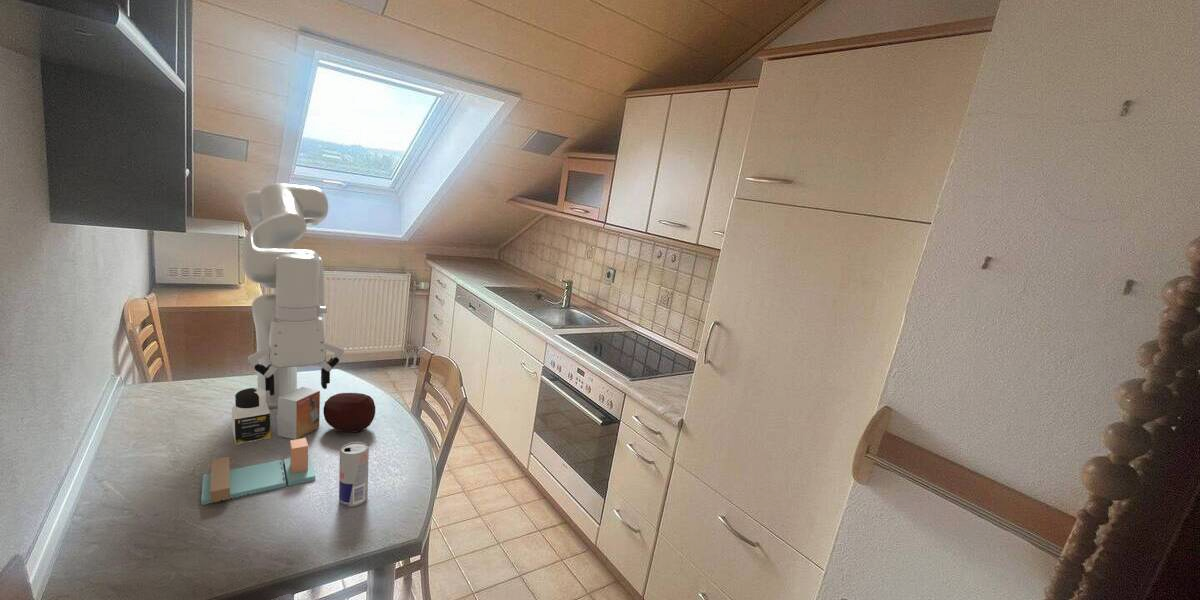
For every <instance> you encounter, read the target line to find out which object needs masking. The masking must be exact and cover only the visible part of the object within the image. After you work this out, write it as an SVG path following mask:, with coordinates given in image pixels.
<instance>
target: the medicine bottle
mask: <svg viewBox="0 0 1200 600" xmlns="http://www.w3.org/2000/svg"><path fill="white" fill-rule="evenodd" d="M234 400H235V406H232V407H231V421H232V423H231V424H232V425H231V426H232V436H233V439H234V444H235V445H241V443H242V444H246V442H247V443H252V442H251V441H253V442H257V440H258V441H262V439H263V440H267V438H268V439H271V437H272V434H271V430H272V429H271V427H272V425H271V424H272V423H271V411H270V408H268V406H267V403H266V392H265V391H264V390H263V389H259V388H258V387H249V388H244V389H242V390H240V391H237V392H236V394H235V395H234Z"/></svg>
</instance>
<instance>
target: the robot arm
mask: <svg viewBox="0 0 1200 600" xmlns="http://www.w3.org/2000/svg"><path fill="white" fill-rule="evenodd" d="M243 208H244V209H243V211H244V212H245V216H246V220H247V221H248V223H249V225H250V228H251V229H250V230H249V231H248V232H247V233H246V235H245V236H244V239H243V242H242V259H243V260H242V261H243V269H244V273H245V276H246V278H248V280H249V281H251V282H253V283H255V284H260V286H261V287H263V288H266V289H273V290H274V289H275V293H266V294H261V295H259V296H257V297H256V298H255V299H254V300H253V302H252V303H251V312H252V313H251V314H252V318H253V322H254V326H255V327H254V329H255V336H256V352H254V353H252V354H250V355H248V356H247V360H248V362H249V363H250V365H251V366H252V367H253V369H254V371H256V372H257V374H256V375H257V388H259V389H263V390H264V391H265V392H266V403H267V406H268V408H269V409H271V408H278V397H280V396H283V395H286V394H288V393H290V392H293V391H295V390H297V389H298V381H297V380H298V367H305V366H314V365H315V366H316V365H319V366H321V368H320V374H321V375H320V384H321V388H322V389H324V390H327V389H328V384H330V383H331V373H330V372H331V371H332V369H333V368H334V367H335V366H337V365H338V364H339V362H340V359H341V358H342V356H343V355H344V352H345V350H344V349H343V348H342V347H339V346H337V345H334V344H332V343H331V344H330V343H329V342H326V334H325V333H326V332H325V327H324V322H323V321H324V319H325V316H326V315H325V314H326V313H327V307H326V301H325V299H326V297H325V294H326V293H325V291H326V290H325V271H324V264H323V259H322V258H321V257H320V255H319V254H318V253H317V251H314V250H311V249H301V248H300V249H299V248H294V242H296V241H299V240H300V239H302V238H303V237H304V235H305V234H306V231H307V226H309V227H311V226H313V227H314V226H317V225H319V224H320V223H322V222H323V221H324V220H326V217H327V216H328V213H329V201H328V197H327V195H326V194H325V192H324V191H323V190H322V189H321V188H320V187H316V186H312V185H304V184H303V185H302V184H301V185H300V184H294V183H293V184H292V183H285V182H284V183H282V182H281V183H279V182H278V183H277V182H276V183H270V184H267V185H265V186H264V187H262V189H261V190H252V191H250V192H246V194H245V195H244V197H243ZM327 351H329V352H332V353H334V354H333V356H332V357H331V358H330V359H329V360H326V358H327Z"/></svg>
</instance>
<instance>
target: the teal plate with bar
mask: <svg viewBox="0 0 1200 600" xmlns="http://www.w3.org/2000/svg"><path fill="white" fill-rule="evenodd" d="M210 467H211V468H210V473H206V474H203V475H202V483H201V496H200V497H201V499H200V500H201V502H200V503H201V506H205V505H209V503H210V504H212V503H213V502H214V503H218V502H221V500H223V501H227V500H231V499H230V498H232V499H235V498H234V497H236V498H240V497H239V496H241V497H244V496H243V495H245V496H248V495H247V494H250V495H253V493H254V494H258V493H257V492H259V493H263V492H267V491H266V490H268V491H271V490H276V488H277V489H280V488H284V487H285V486H286V487H287V478H286V473H285V468H284V463H283V460H282V459H280V460H273V461H269V462H263V463H258V464H253V465H247V466H243V467H237V468H231V469H230V467H231V465H230V456H225V457H220V458H215V459H211V466H210ZM262 491H263V492H262ZM226 499H227V500H226Z"/></svg>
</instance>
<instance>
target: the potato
mask: <svg viewBox="0 0 1200 600" xmlns="http://www.w3.org/2000/svg"><path fill="white" fill-rule="evenodd" d="M322 412H323V418H324V419H325V421H326V424H328V425H329V426H330V427H331V428H333V429H335V430H337V431H340V432H344V433H348V432H349V433H357V432H361V431H363V430H366V429H367V428H368V427H369V426H370V425H371V424H372V422H373V421H374V418H375V417H376V404H375V401H374V399H373V398H372V397H371V396H370V395H367V394H365V393H361V392H360V393H359V392H358V393H357V392H341V393H336V394H333V395H331V396H329V398H327V400H326V401H325V402H324V405H323V411H322Z"/></svg>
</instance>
